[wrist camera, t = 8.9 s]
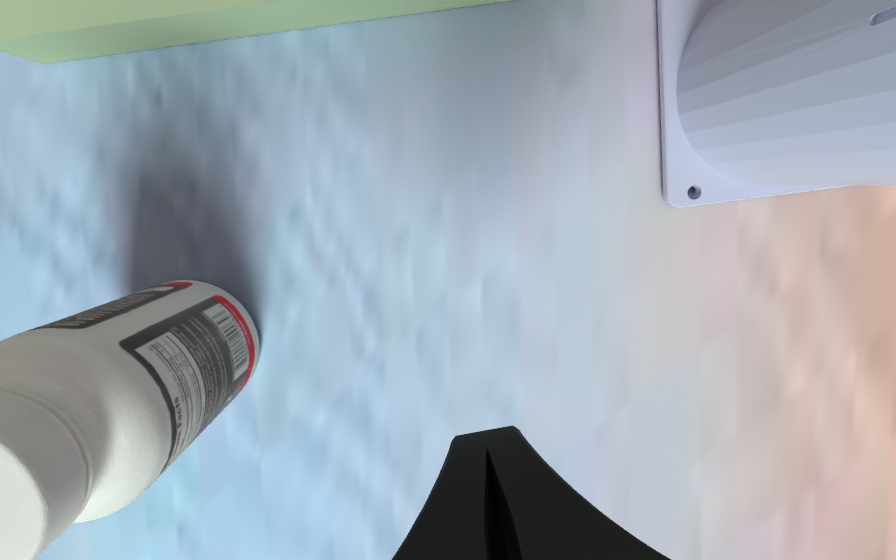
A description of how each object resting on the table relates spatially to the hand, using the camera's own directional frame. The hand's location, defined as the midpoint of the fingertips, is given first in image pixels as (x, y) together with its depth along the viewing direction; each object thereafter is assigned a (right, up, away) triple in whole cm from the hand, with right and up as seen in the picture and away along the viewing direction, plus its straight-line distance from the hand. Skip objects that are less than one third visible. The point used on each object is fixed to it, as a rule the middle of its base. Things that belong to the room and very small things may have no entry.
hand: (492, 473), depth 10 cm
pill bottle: (-11, +2, +9) cm, 15 cm away
